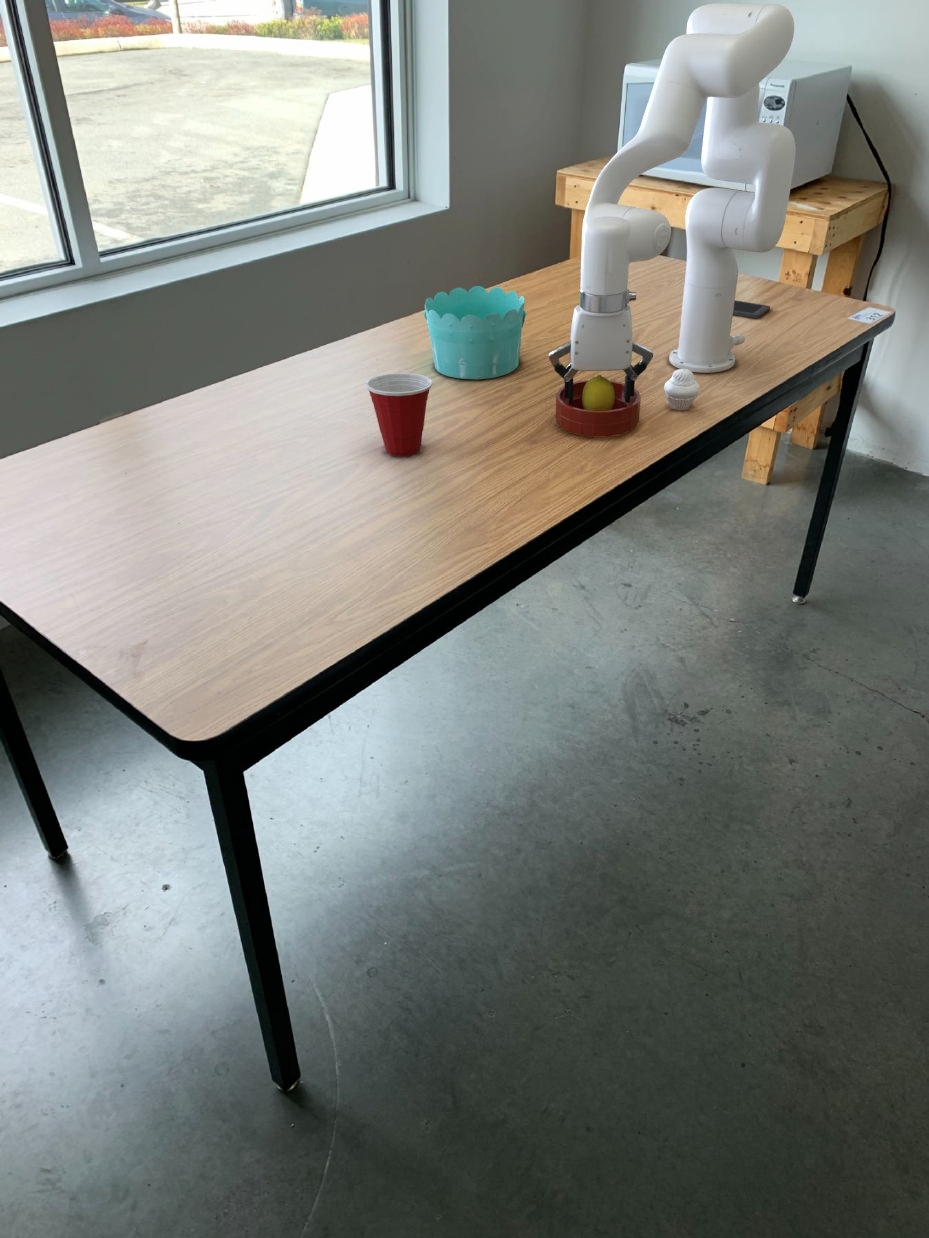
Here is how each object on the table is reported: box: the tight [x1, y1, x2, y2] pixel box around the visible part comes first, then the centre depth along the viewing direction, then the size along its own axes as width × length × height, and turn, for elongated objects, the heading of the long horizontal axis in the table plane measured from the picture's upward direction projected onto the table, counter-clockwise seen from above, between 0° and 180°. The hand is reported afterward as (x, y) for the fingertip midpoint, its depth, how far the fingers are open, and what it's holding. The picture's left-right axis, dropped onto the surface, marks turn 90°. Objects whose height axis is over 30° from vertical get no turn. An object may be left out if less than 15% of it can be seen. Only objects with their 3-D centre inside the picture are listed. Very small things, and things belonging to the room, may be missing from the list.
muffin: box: [663, 368, 700, 411], centre depth 171 cm, size 6×6×7 cm
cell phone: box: [733, 299, 771, 319], centre depth 215 cm, size 7×14×1 cm, turn 55°
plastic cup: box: [364, 372, 434, 458], centre depth 158 cm, size 11×11×12 cm
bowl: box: [555, 379, 642, 438], centre depth 167 cm, size 14×14×5 cm
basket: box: [423, 285, 527, 381], centre depth 189 cm, size 19×18×13 cm
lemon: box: [582, 374, 615, 411], centre depth 165 cm, size 6×6×8 cm
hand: (598, 400), depth 166 cm, fingers open, 9 cm apart
